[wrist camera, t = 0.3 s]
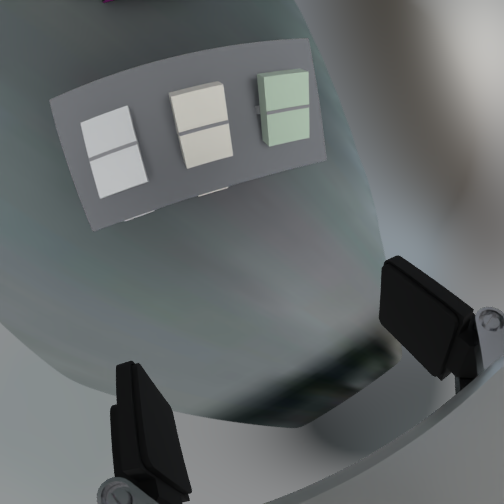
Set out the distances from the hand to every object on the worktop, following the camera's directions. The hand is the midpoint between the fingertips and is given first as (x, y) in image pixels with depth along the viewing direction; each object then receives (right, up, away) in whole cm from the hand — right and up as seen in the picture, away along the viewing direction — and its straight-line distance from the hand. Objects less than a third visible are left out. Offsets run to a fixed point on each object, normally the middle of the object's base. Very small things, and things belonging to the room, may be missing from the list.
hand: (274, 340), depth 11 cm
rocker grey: (-13, +12, +13) cm, 22 cm away
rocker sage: (+2, +17, +16) cm, 24 cm away
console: (-8, +18, +22) cm, 29 cm away
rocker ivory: (-5, +14, +15) cm, 21 cm away
